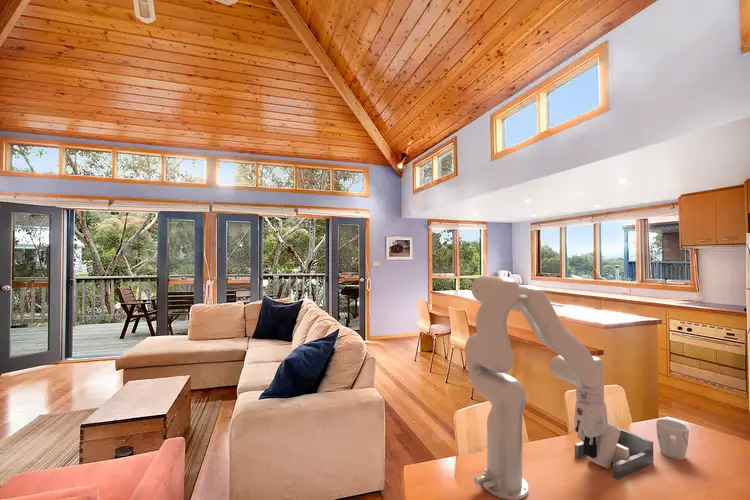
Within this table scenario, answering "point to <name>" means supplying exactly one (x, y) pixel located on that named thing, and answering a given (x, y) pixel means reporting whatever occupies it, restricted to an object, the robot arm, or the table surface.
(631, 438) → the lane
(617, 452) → the pusher plate
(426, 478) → the table surface
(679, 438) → the mug
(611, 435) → the cup
